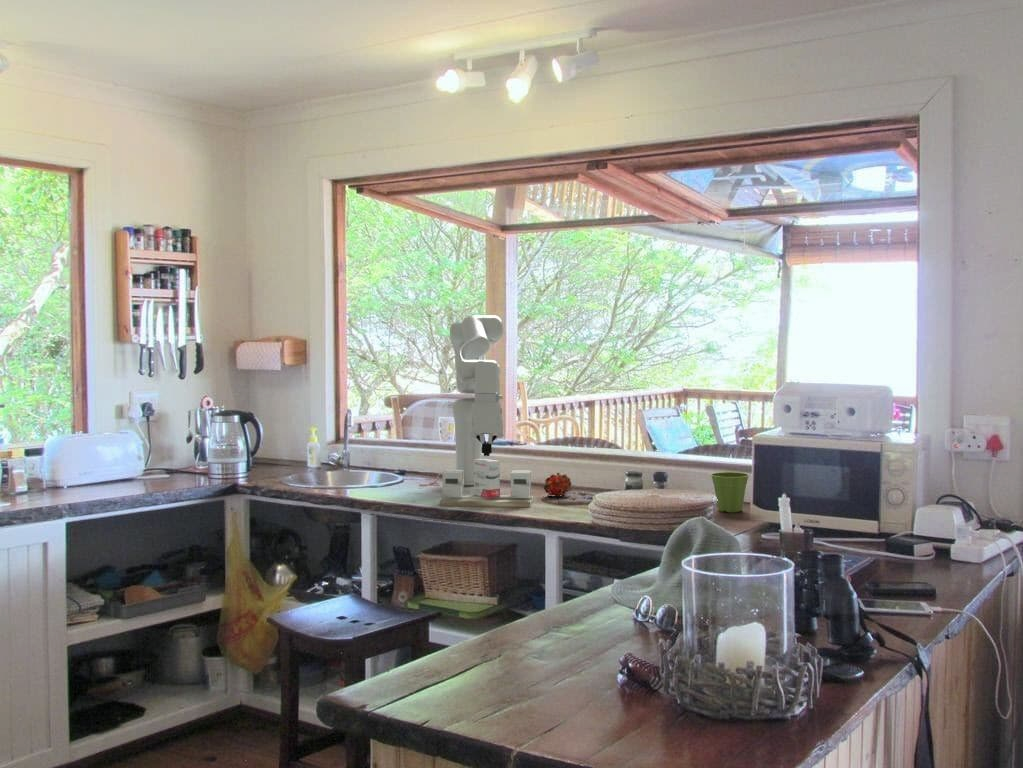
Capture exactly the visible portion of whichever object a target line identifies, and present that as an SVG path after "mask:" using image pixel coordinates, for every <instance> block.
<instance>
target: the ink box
mask: <svg viewBox="0 0 1023 768" xmlns="http://www.w3.org/2000/svg"><path fill="white" fill-rule="evenodd" d="M500 465H501V464H500V460H495V459H488V458H481V459H475V460H474V485H473V495H477V496H482V497H486V498H492V497H500V495H501V479H500V478H501V474H500V473H501V472H500V471H501V470H500V469H501V468H500V467H501V466H500Z"/></svg>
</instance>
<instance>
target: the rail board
mask: <svg viewBox="0 0 1023 768" xmlns="http://www.w3.org/2000/svg"><path fill="white" fill-rule="evenodd" d="M531 474H532V471H531V470H511V472H510V494H509V495H507V494H505V495H501V494H500V497H492V498H486V497H482V496H477V495H474V494H465V485H464V470H456V469H444V471H442V479H441V480H442V496H441V499H440V500H439V507H441V506H442V507H503V508H504V507H505V508H506V507H510V508H511V507H516V508H517V507H518V508H520V507H521V508H522V507H523V508H525V507H527V508H530V507H532V504H533V502H534V496H533V495H532V485H531V484H532V475H531Z"/></svg>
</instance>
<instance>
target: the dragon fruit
mask: <svg viewBox="0 0 1023 768" xmlns="http://www.w3.org/2000/svg"><path fill="white" fill-rule="evenodd" d="M571 487H572V481H571V478H570V477H569V476H568V474H566V473H565V474H562V475H561V474H560V472H557V473H556V474H551V475H550V476H549V477H547V478H546V479H545V485H543V489H544V491H545V492H546V494H547V497H548V496H549V495H557V496H559V495H564V496H565V495H566V493H568V492H571V491H572V488H571Z"/></svg>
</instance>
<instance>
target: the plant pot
mask: <svg viewBox="0 0 1023 768" xmlns="http://www.w3.org/2000/svg"><path fill="white" fill-rule="evenodd" d="M709 475H710V476H711V480H712V484H713V487H714V492H715V498H716V497H717V499H718V501H717V499H716V504H717V510H718V511H719V512H726V513H739V512H742V511H743V507H744V502H745V495H746V489H747V484H748V479H749V477H750V476H751V475H750V473H746V472H738V471H737V472H736V471H723V472H713V473H710V474H709Z"/></svg>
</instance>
